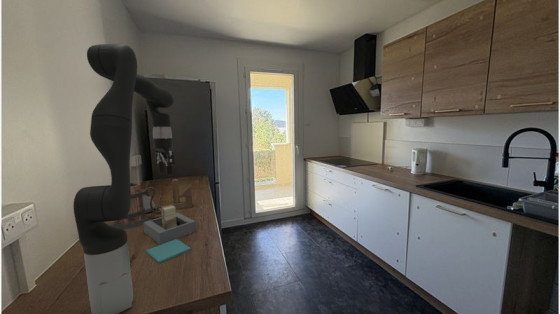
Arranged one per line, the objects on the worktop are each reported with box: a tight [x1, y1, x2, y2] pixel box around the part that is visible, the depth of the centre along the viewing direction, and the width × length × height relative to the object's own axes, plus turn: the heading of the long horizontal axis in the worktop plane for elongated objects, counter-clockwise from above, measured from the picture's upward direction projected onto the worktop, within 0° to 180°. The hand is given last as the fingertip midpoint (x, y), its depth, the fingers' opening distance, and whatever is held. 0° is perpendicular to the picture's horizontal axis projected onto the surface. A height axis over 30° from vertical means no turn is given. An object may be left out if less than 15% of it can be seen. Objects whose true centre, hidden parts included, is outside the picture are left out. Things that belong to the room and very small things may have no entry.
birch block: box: [160, 204, 178, 230], centre depth 105 cm, size 4×4×10 cm
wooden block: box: [171, 178, 193, 210], centre depth 138 cm, size 4×11×18 cm, turn 111°
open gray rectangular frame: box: [143, 212, 197, 245], centre depth 106 cm, size 18×16×5 cm
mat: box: [145, 238, 192, 264], centre depth 89 cm, size 12×12×1 cm
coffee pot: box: [141, 181, 156, 214], centre depth 138 cm, size 21×12×15 cm, turn 20°
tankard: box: [111, 182, 163, 231], centre depth 118 cm, size 24×17×20 cm
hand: (165, 173), depth 103 cm, fingers open, 8 cm apart
